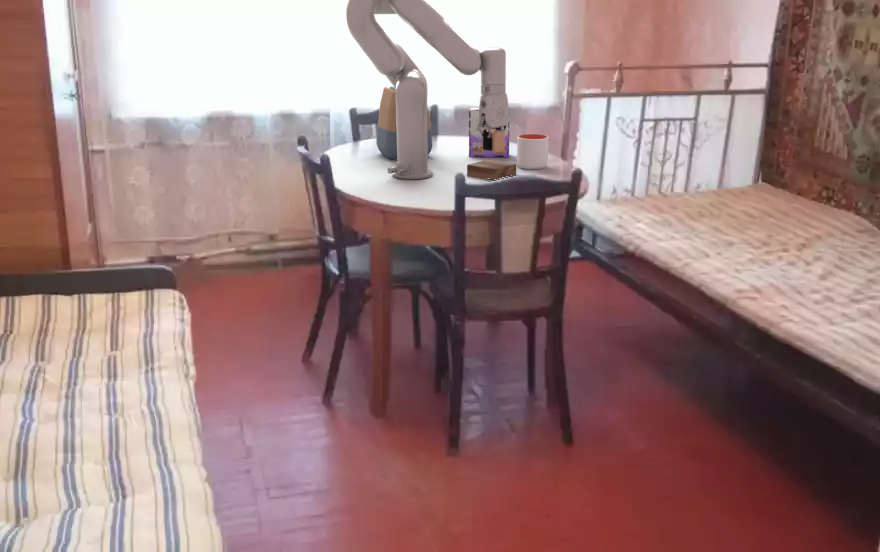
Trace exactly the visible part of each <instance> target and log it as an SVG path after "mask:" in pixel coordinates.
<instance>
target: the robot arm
mask: <svg viewBox="0 0 880 552" xmlns="http://www.w3.org/2000/svg"><path fill="white" fill-rule="evenodd" d="M375 15H397V16H398V17H399V18H400V19H402V20H403V21H404V22H405V23H406V24H407V25H408V26H409V27H410V28H411V29H413V31H415V32H416V33H417V34H418V35H419V36H420V37H421V38H422V39H423V40H424V41H425V42H426V43H427V44H428V45H430V46H431V47H432V48H433V49H435V50H436V51H437V52H438V53H439V54H440V55H441V56H442V57H443V58H444V59H445V60H446V61H447V62H449V63H450V64H451V65H452V66H453V67H454V69H456V70H457V71H458V72H459V73H460V74H462V75H464V76H472V75H475V74H476V73H478V72H479V71H480V99H479V125H478V127H477V129H478V130H479V131H480V133H481V134H482V137H483V150H489V151H491V150H492V138H491V133H492V128H495V130H505V128H506V126H507V124H508V123H509V109H510V107H509V99H508V95H507V91H506V87H507V86H506V85H507V84H506V79H507V77H506V75H507V74H506V69H507V64H506V63H507V62H506V60H507V59H506V58H507V57H506V56H507V55H506V51H505V49H504V48H503V47H485V48H480V47H473V46H472V47H471V46H470V45H469V44H468V43H467V42H466V41H464V39H463V38H461V36H460V35H458V33H457V32H456V31H454V29H453V28H452V27H451V26H450V23H448V21H447V20H446V19H445V18H444V17H443V16H442V15H441V14H440V13H439V12H438V11H437V9H435V8H434V7H432V6H431V5H430V4H429V3H428V2H427V1H426V0H348V2H347V5H346V9H345V21H346V22H345V23H346V25H347V26H346V27H347V29H348V31H349V32H350V34H351V36H352V38H353V39H354V40H355V41H356V42H357V44H358V46H359V47H360V48H361V50H362V51H363V53H365V56H367V58H368V59H369V60H370V61H371V63H372V64H373V66H374V67H375V69H376V70H377V71H378V72H379V73H380V74H382V75H383V76H385V77H386V78H387V80H388V81H389V83H391V85H392V87H395V88H396V91H395V96H396V126H397V160H396V162H395V163H394V166H389V167H387V170H386V171H387V173H388V174H389V175H391V174H392V175H391V176H393V177H394V178H396V179H402V180H422V179H428V178H430V177H432V176H433V175H434V173H433V170H431V169H429V168H428V167H429V165H428V163H429V162H428V161H429V160H428V158H429V155H428V142H427V108H428V82H427V78H426V77H425V76H424V74H423V72H422V71H421V69H419V67H418V66H417V65H416V63H415V62H414V61H413V59H412V58H411V57H410V56H409V55H408V53H407V52H406V51H405V50H404V48H403V47H402V46H401V45H400V44H398V43H396V42H393V41H392V39H391V38H390V37H389V36H388V35H387V34H386V32H385V31H384V29H383V28H382V27H381V25H380V24H379V23H378V22H377V20H376V16H375ZM486 126H488V127H486ZM498 127H499V128H498ZM486 129H488V132H487V130H486Z"/></svg>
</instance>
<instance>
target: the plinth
mask: <svg viewBox="0 0 880 552" xmlns="http://www.w3.org/2000/svg"><path fill="white" fill-rule="evenodd" d="M466 165H467V166H466V176H467V175H468V176H467V177H473V178H477V177H479V178H478V179H483V178H490V179H499V178H502V177H506V176H510V177H512V176H511V175H513V176H515V175H514V174H516V175H517V162H516V163H515V162H510V161H509V162H508V161H503V160H502V161H501V160H495V159H489V158H488V159H484V160H481V161H476V162H472V163H468V164H466ZM506 178H507V177H506ZM499 180H500V179H499Z"/></svg>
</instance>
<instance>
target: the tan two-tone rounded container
mask: <svg viewBox="0 0 880 552" xmlns="http://www.w3.org/2000/svg"><path fill="white" fill-rule="evenodd" d="M395 91H396V88H395V87H394V86H390V87H386V86H385V87H383V90H382V95H381V97H380V102H379V111H378V119H377V121H378V122H377V125H376V145H377V146H376V147H377V149H378V151H379V152H380V153H381V154H382V155H384V156H385V157H386V158H389V159H390V160H395V161H397V126H396V96H395ZM430 120H431V119H430V111H429V108H428V107H427V142H428V156H429V155H430V153H431V152H432V149H433V134H432V133H433V132H432V131H433V130H432V129H431V121H430Z"/></svg>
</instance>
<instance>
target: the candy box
mask: <svg viewBox="0 0 880 552" xmlns="http://www.w3.org/2000/svg"><path fill="white" fill-rule="evenodd" d="M510 110H511V109H510V108H509V123H508V124H507V126H506V128H505V130H504V131H505V150H502V151H498V152H489V151H482V134H481V133H480V131H479V130H478V129H477V127H478V125H479V107H478V106H477V107H469V110H468V157H469V158H509V157H510V138H511V137H510V136H511V135H510V130H511V128H510V122H511V121H510V114H511V113H510ZM486 127H488V126H486ZM498 128H499V127H498ZM492 129H495V128H492ZM486 130H488V129H486Z"/></svg>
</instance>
